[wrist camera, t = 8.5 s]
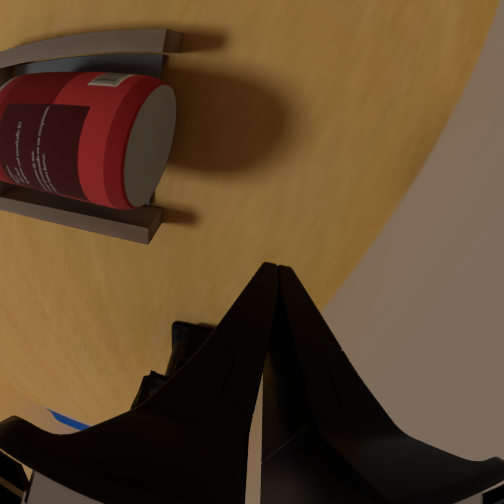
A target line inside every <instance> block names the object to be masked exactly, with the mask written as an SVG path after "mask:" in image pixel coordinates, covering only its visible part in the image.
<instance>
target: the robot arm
mask: <svg viewBox="0 0 504 504" xmlns="http://www.w3.org/2000/svg"><path fill="white" fill-rule="evenodd" d="M262 373H263V407H262V408H263V409H262V411H263V412H262V458H261V460H262V461H261V462H262V464H261V495H260V504H504V484H502V485H500V486H498V487H495V488H493V489H491V490H489V491H486V492H484V493H482V491H484V490H486V489H488V488H490V487H492V486H494V485H496V484H498V483H500V482H502V481H503V480H504V460H502V459H501V458H499V457H492V458H490V459H487V460H485V461H471V460H467V459H464V458H461V457H458V456H455V455H453V454H450V453H448V452H445V451H443V450H440V449H438V448H435V447H433V446H431V445H428V444H426V443H424V442H421V441H419V440H417V439H415V438H412V437H410V436H408V435H407V434H405V433H404V432H403V431H402V430H400V429H399V428H398V427H397V426H396V424H395V423H394V422H393V421H392V420H391V418H390V417H389V416H388V414H387V413H386V412H385V410H384V409H383V408H382V406H381V405H380V404H379V402H378V401H377V400H376V398H375V397H374V396H373V394H372V393H371V392H370V390H369V389H368V388H367V386H366V385H365V384H364V382H363V381H362V379H361V378H360V376H359V375H358V373H357V372H356V370H355V369H354V367H353V366H352V364H351V363H350V361H349V359H348V358H347V356H346V354H345V353H344V351H342V348H341V346H340V345H339V343H338V341H337V340H336V338H335V337H334V335H333V333H332V332H331V330H330V328H329V327H328V325H327V323H326V322H325V320H324V319H323V317H322V315H321V314H320V312H319V310H318V309H317V307H316V306H315V304H314V302H313V301H312V299H311V298H310V296H309V294H308V293H307V291H306V290H305V288H304V286H303V285H302V283H301V282H300V280H299V279H298V277H297V275H296V274H295V272H294V271H293V269H292V268H291V267H288V266H284V265H278V266H277V265H276V264H274V263H269V262H264V263H263V264H262V265H261V266H260V268H259V269H258V271H257V272H256V273H255V275H254V276H253V277H252V279H251V280H250V282H249V283H248V284H247V286H246V287H245V288H244V290H243V291H242V293H241V294H240V295H239V297H238V298H237V299H236V301H235V302H234V304H233V305H232V306H231V308H230V309H229V310H228V312H227V313H226V314H225V316H224V317H223V319H222V320H221V321H220V323H219V324H218V325H217V327H216V328H215V330H210V329H206V328H201V327H197V326H192V325H188V324H184V323H179V322H173V324H172V353H171V357H170V360H169V363H168V366H167V370H166V373H165V376H164V375H161V374H158V373H156V372H155V371H152V370H151V372H150V375H148V376H144V377H143V380H142V383H141V386H140V388H139V391H138V393H137V395H136V397H135V399H134V401H133V404H132V406H131V410H130V411H128V412H125V413H123V414H121V415H118V416H116V417H114V418H111V419H109V420H106V421H104V422H102V423H99V424H97V425H94V426H92V427H89V428H87V429H84V430H81V431H79V432H76V433H72V434H63V435H62V434H61V435H59V434H53V433H50V432H47V431H44V430H42V429H41V428H39V427H37V426H35V425H33V424H32V423H30V422H28V421H26V420H24V419H22V418H20V417H18V416H11V417H9V418H7V419H5V420H3V421H1V422H0V449H2V450H3V451H4V452H6V453H7V454H9V455H10V456H12V457H13V458H15V459H16V460H18V461H19V462H21V463H23V464H24V465H26V466H27V467H29V468H31V469H33V471H32V475H31V478H30V481H28V478H27V476H26V474H25V472H24V469H23V467H22V465H21V464H20V463H19V462H17V461H16V460H14V459H13V458H11V457H9V456H8V455H7V454H5V453H4V452H2V451H1V450H0V504H245V492H246V476H247V459H248V443H249V432H250V427H251V422H252V417H253V413H254V409H255V405H256V400H257V396H258V391H259V386H260V382H261V378H262Z"/></svg>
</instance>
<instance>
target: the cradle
mask: <svg viewBox="0 0 504 504" xmlns="http://www.w3.org/2000/svg"><path fill="white" fill-rule="evenodd" d="M182 36H183V33H180V32H176V31H172V30H168V29H132V30H114V31H102V32H92V33H84V34H77V35H70V36H64V37H58V38H53V39H48V40H43V41H39V42H34V43H30V44H26V45H22V46H18V47H15V48H11V49H8V50H5V51H1V52H0V87H1V86H2V85H4V84H5V83H6V82H7V81H9V80H11V79H12V71H13V65H16V64H20V63H25V62H30V61H35V60H41V59H47V58H54V57H61V56H69V55H78V54H90V53H105V52H168V53H179V52H180V47H181V41H182ZM0 210H3V211H8V212H12V213H16V214H20V215H24V216H28V217H32V218H36V219H40V220H44V221H48V222H53V223H57V224H61V225H65V226H69V227H74V228H78V229H82V230H86V231H91V232H95V233H99V234H103V235H108V236H112V237H116V238H121V239H125V240H130V241H134V242H138V243H143V244H147V245H148V244H149V243H150V241H151V240H152V238H153V236H154V235H155V233H156V231H157V230H158V228H159V227H160V225H161V223H162V208H161V207H156V206H151V205H146V204H144V205H142V206H141V207H140V208H137V209H127V210H119V209H115V208H111V207H107V206H103V205H98V204H94V203H90V202H86V201H82V200H78V199H74V198H70V197H65V196H61V195H57V194H53V193H49V192H44V191H40V190H36V189H32V188H27V187H23V186H19V185H15V184H11V183H8V182H4V181H1V180H0Z"/></svg>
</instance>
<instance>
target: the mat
mask: <svg viewBox="0 0 504 504" xmlns="http://www.w3.org/2000/svg"><path fill="white" fill-rule="evenodd" d="M163 60H164V55H148V54H119V55H96V56H83V57H72V58H63V59H56V60H49V61H42V62H36V63H31V64H25V65H20V66H17V76H21V75H25V74H30V73H40V72H108V73H123V74H135V75H145V76H152V77H155V78H157V79H159V80H161V73H162V66H163ZM17 76H16V77H17ZM150 203H151V197H150V198H149V200H148V201H147V202H146V203H145V204H147V205H150Z"/></svg>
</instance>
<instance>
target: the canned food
mask: <svg viewBox="0 0 504 504" xmlns="http://www.w3.org/2000/svg"><path fill="white" fill-rule="evenodd" d="M175 123H176V98H175V94H174V91H173V89H172V87H171V86H170V85H169V84H168V83H166V82H164V81H162V80H159V79H157V78H155V77H152V76H145V75H135V74H123V73H108V72H40V73H30V74H25V75H21V76H17V77H15V78H13V79H11V80H9V81H7V82H6V83H5V84H4V85H2V86H1V87H0V180H1V181H4V182H8V183H11V184H15V185H19V186H23V187H27V188H32V189H36V190H40V191H44V192H49V193H53V194H57V195H61V196H65V197H70V198H74V199H78V200H82V201H86V202H90V203H94V204H98V205H103V206H107V207H111V208H115V209H119V210H127V209H137V208H140V207H141V206H142V205H144V204H145V203H146V202H147V201H148V200H149V198H150V197H151V196H152V194H153V193H154V191H155V189H156V187H157V185H158V183H159V181H160V179H161V177H162V174H163V171H164V169H165V166H166V163H167V160H168V157H169V153H170V149H171V145H172V141H173V136H174V130H175Z"/></svg>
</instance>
